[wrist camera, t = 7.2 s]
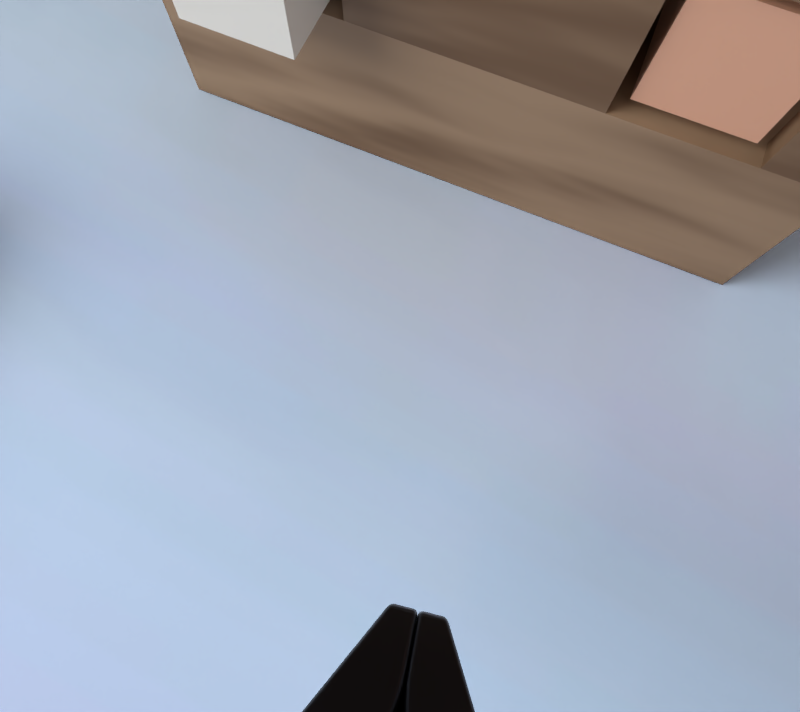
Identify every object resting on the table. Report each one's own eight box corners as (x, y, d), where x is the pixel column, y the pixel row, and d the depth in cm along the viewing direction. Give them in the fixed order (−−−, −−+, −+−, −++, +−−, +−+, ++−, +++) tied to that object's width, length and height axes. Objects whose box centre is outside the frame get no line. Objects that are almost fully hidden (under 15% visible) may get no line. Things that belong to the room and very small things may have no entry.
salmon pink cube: (757, 143, 18) (861, 34, 14) (630, 98, 18) (697, -19, 14) (783, 46, 19) (886, -79, 15) (663, 6, 19) (734, -127, 15)
